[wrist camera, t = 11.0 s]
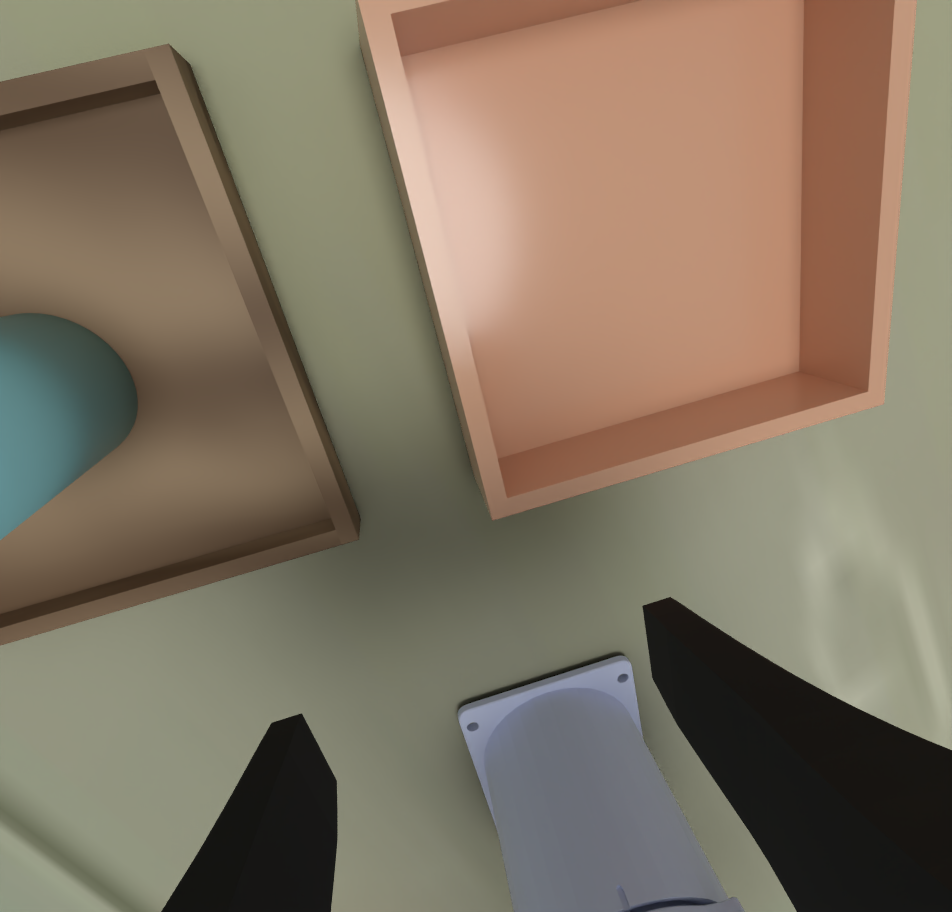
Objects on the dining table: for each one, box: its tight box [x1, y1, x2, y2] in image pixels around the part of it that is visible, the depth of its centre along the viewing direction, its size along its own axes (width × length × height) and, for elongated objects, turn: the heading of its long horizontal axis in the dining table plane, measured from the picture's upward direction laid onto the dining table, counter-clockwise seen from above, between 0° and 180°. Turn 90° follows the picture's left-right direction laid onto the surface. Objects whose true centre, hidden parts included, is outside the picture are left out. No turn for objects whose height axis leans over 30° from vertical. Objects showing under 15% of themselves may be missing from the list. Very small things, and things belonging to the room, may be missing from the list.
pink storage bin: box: [355, 0, 917, 521], centre depth 16 cm, size 13×13×4 cm
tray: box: [0, 44, 360, 645], centre depth 15 cm, size 14×14×2 cm
